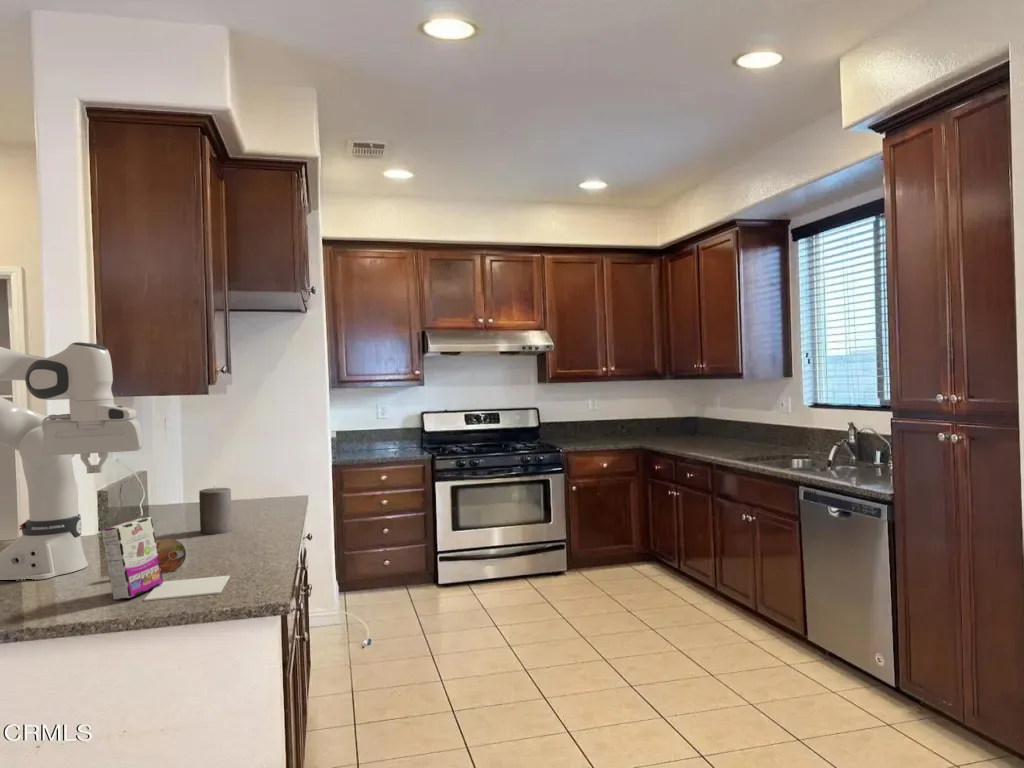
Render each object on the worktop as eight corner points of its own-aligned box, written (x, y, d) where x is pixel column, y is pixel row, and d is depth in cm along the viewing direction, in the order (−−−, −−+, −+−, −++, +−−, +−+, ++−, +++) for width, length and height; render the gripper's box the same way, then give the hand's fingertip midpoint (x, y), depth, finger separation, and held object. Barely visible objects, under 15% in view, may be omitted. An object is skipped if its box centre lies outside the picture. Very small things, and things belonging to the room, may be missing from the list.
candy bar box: (146, 585, 171) (135, 518, 171) (164, 583, 170) (153, 516, 170) (111, 600, 160) (99, 529, 160) (130, 598, 159) (118, 526, 159)
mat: (144, 601, 159) (144, 599, 159) (160, 583, 173) (159, 581, 173) (220, 593, 163) (220, 591, 163) (229, 577, 176) (229, 575, 176)
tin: (121, 580, 177) (119, 546, 177) (120, 577, 180) (118, 544, 180) (186, 569, 185) (185, 537, 185) (184, 567, 188) (183, 535, 188)
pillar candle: (194, 535, 227) (193, 488, 227) (208, 528, 237) (207, 483, 237) (224, 534, 227) (223, 488, 227) (237, 527, 237) (235, 483, 236)
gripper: (35, 415, 157) (38, 477, 158) (136, 411, 162) (138, 471, 162) (47, 414, 163) (50, 474, 164) (143, 410, 168) (146, 468, 168)
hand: (95, 472), depth 163 cm, fingers closed
